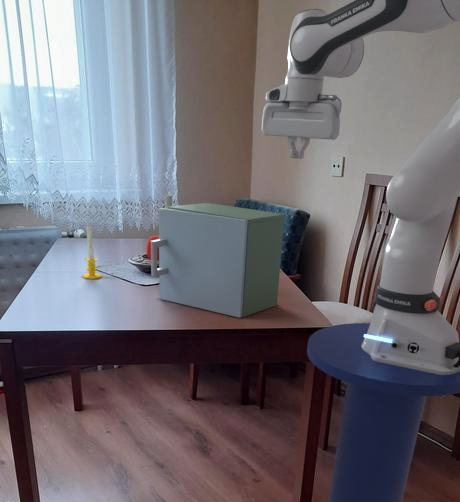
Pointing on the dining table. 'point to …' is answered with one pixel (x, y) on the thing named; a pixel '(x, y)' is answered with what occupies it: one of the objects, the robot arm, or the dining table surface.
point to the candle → (91, 257)
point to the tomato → (150, 247)
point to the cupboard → (254, 252)
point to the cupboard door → (201, 260)
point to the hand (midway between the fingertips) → (296, 158)
